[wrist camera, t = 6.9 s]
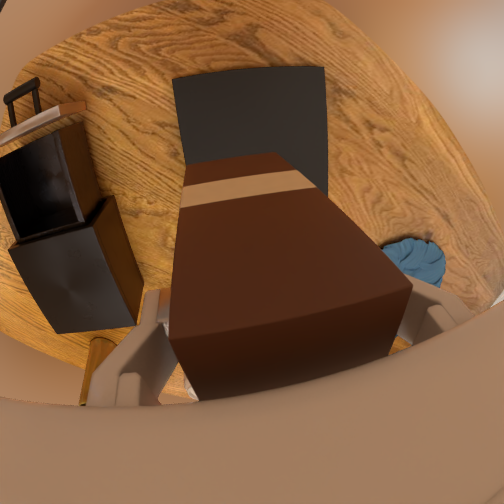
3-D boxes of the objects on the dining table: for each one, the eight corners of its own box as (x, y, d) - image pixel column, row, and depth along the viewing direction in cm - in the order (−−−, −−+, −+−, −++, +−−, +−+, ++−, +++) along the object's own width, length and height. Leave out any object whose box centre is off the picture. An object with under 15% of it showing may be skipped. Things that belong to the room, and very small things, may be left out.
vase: (86, 348, 47) (73, 409, 35) (95, 332, 45) (80, 397, 33) (113, 360, 50) (104, 421, 38) (123, 345, 48) (114, 410, 36)
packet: (185, 164, 15) (165, 338, 5) (275, 151, 15) (415, 284, 5) (201, 243, 17) (218, 435, 7) (280, 229, 18) (368, 398, 8)
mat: (172, 79, 27) (171, 79, 26) (321, 67, 29) (324, 66, 28) (196, 215, 37) (196, 218, 36) (325, 195, 39) (328, 198, 38)
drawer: (5, 102, 21) (-27, 110, 15) (79, 65, 23) (52, 62, 17) (37, 221, 31) (14, 247, 25) (108, 200, 33) (91, 226, 26)
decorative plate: (436, 203, 45) (455, 214, 40) (441, 298, 60) (452, 310, 56) (308, 285, 47) (319, 305, 43) (347, 361, 63) (356, 377, 59)
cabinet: (36, 217, 32) (7, 250, 24) (114, 194, 33) (92, 226, 26) (73, 294, 40) (56, 334, 32) (144, 282, 41) (136, 325, 34)
